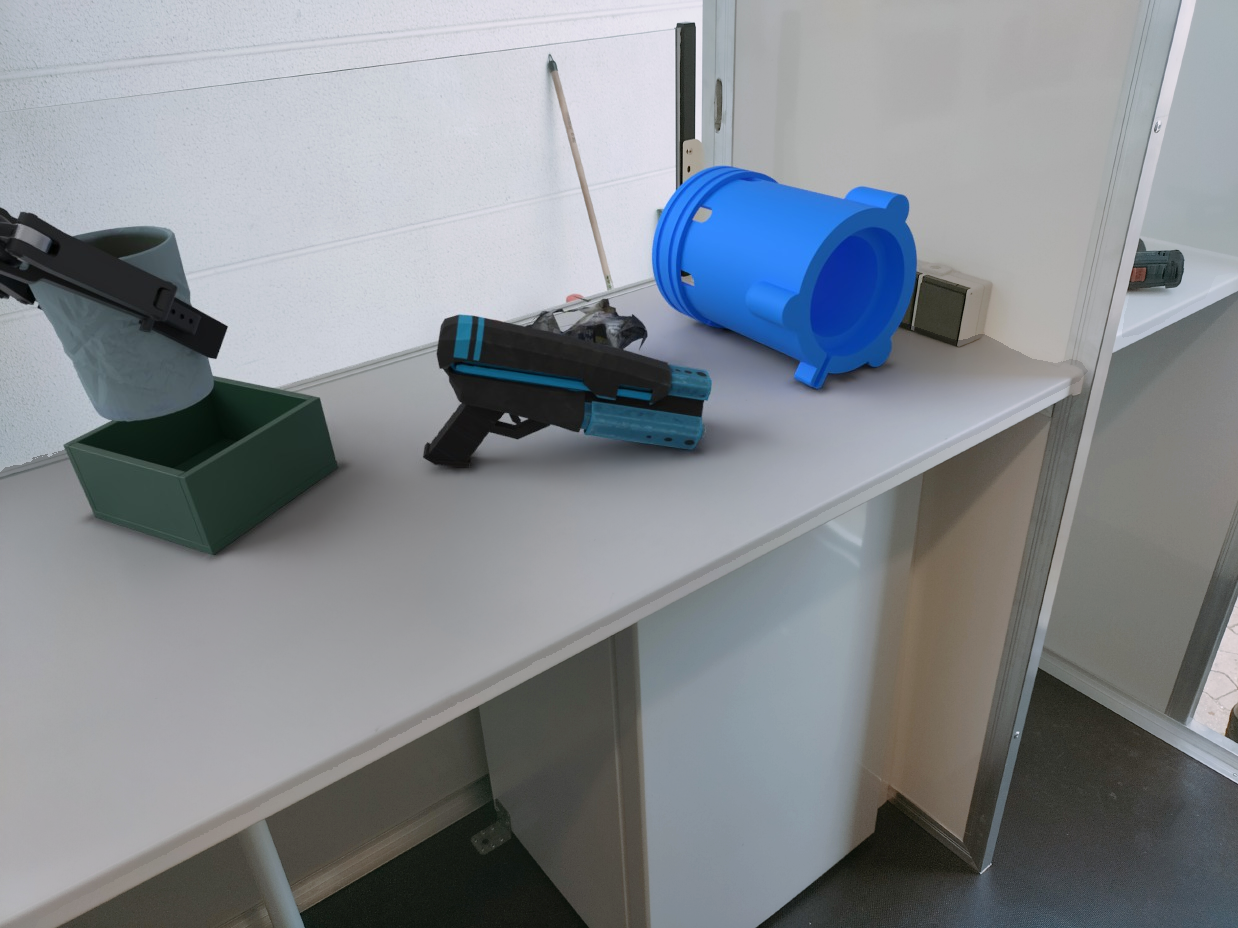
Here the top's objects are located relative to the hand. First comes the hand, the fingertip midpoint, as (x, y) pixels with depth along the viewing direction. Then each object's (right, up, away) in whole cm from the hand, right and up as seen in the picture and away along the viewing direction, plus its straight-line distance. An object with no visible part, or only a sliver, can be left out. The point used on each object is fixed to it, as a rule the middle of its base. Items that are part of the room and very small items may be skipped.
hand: (168, 334), depth 67 cm
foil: (+29, 0, +34) cm, 45 cm away
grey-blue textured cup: (-1, -5, 0) cm, 5 cm away
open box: (-3, -13, +15) cm, 20 cm away
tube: (+54, +4, +38) cm, 67 cm away
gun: (+31, -9, +18) cm, 37 cm away
